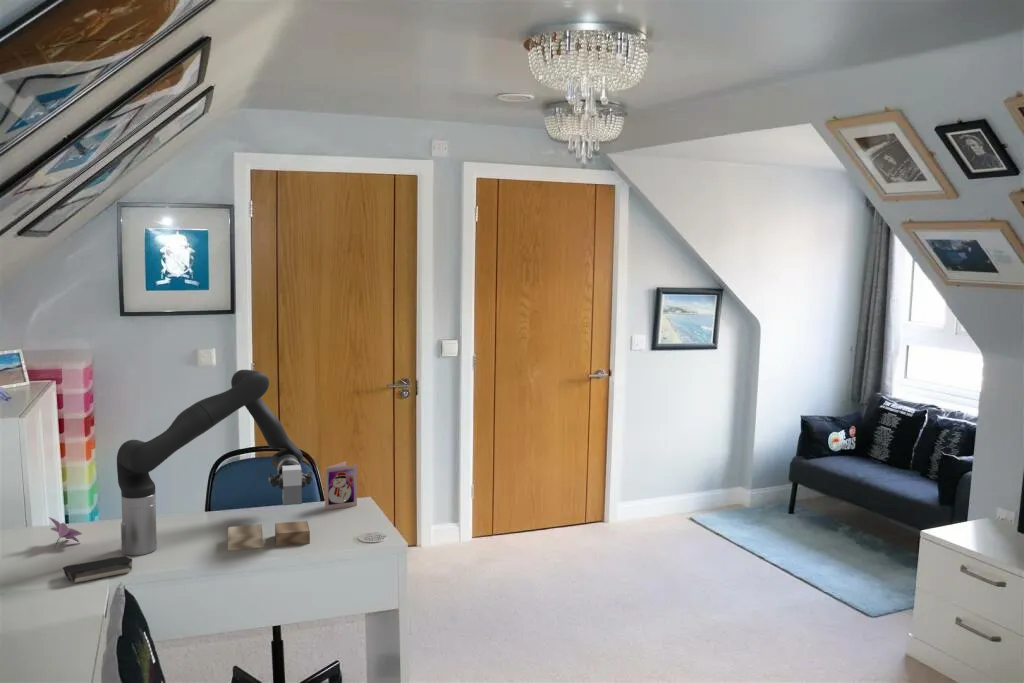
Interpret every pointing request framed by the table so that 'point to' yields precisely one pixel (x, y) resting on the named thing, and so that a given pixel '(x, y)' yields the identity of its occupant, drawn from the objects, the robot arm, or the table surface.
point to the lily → (64, 531)
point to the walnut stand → (292, 533)
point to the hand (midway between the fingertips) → (292, 485)
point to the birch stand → (245, 537)
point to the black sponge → (98, 569)
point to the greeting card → (340, 486)
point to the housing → (292, 484)
